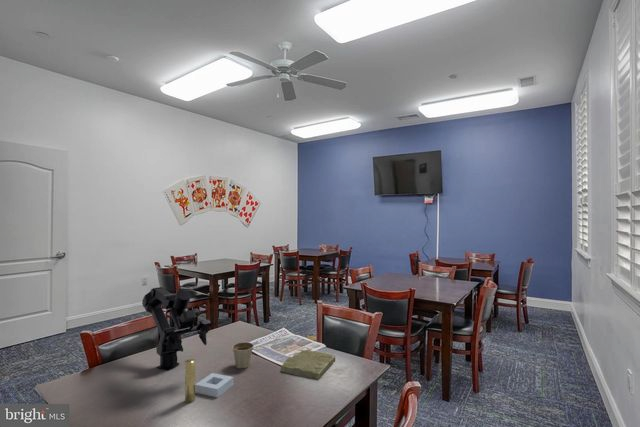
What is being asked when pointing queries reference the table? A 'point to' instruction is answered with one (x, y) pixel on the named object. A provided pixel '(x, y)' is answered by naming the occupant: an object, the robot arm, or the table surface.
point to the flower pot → (242, 354)
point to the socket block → (214, 385)
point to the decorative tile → (308, 364)
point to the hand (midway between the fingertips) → (194, 347)
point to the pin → (190, 380)
